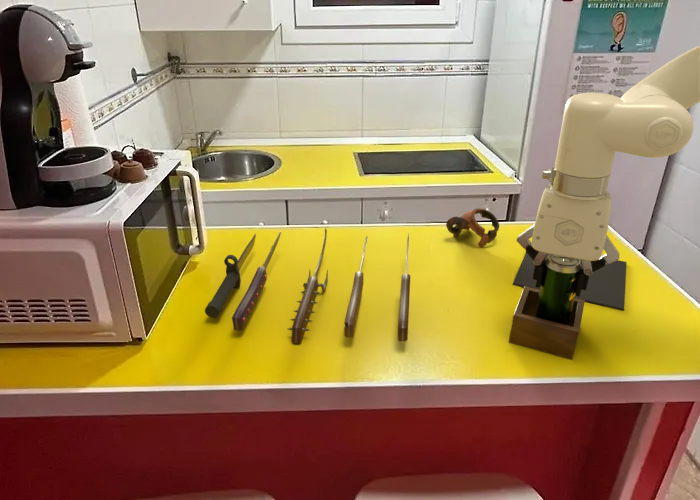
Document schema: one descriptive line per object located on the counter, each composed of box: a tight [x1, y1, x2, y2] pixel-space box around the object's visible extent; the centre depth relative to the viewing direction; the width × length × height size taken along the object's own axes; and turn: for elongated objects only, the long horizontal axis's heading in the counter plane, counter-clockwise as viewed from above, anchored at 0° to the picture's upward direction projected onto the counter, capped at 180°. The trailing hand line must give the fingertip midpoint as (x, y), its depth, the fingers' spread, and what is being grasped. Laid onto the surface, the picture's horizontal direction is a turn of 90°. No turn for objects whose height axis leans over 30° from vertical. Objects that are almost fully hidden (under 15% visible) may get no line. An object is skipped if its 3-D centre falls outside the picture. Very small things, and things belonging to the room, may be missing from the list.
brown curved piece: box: [445, 207, 500, 248], centre depth 119 cm, size 12×10×8 cm
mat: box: [512, 251, 627, 312], centre depth 107 cm, size 20×20×1 cm
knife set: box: [204, 227, 411, 344], centre depth 98 cm, size 35×33×8 cm
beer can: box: [535, 254, 581, 325], centre depth 84 cm, size 5×5×12 cm
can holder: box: [508, 286, 586, 360], centre depth 87 cm, size 10×10×6 cm
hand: (558, 286), depth 84 cm, fingers closed on beer can, 5 cm apart
